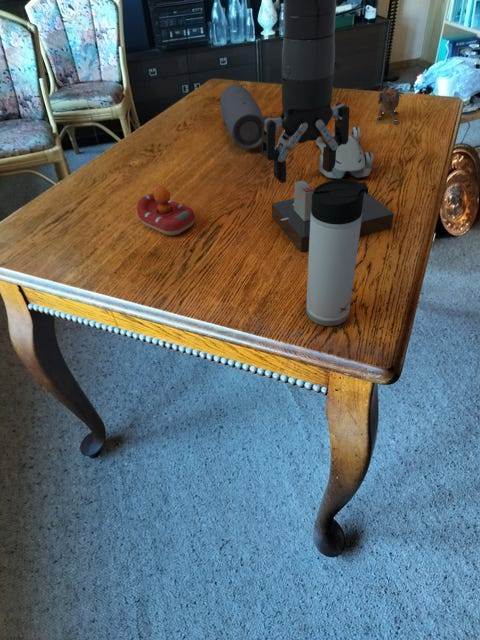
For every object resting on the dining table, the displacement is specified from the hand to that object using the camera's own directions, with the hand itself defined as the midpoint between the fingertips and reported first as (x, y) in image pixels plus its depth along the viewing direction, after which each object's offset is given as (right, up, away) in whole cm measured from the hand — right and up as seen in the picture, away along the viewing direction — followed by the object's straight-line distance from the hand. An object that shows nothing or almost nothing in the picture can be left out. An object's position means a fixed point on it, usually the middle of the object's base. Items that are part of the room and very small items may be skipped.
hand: (304, 175), depth 79 cm
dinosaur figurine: (+28, +29, +45) cm, 61 cm away
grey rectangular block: (+1, -5, +5) cm, 8 cm away
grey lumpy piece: (+12, +12, +28) cm, 33 cm away
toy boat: (-25, -6, +12) cm, 28 cm away
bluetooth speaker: (-10, +23, +42) cm, 48 cm away
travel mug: (+2, -23, -10) cm, 25 cm away
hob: (+6, -6, +8) cm, 12 cm away
